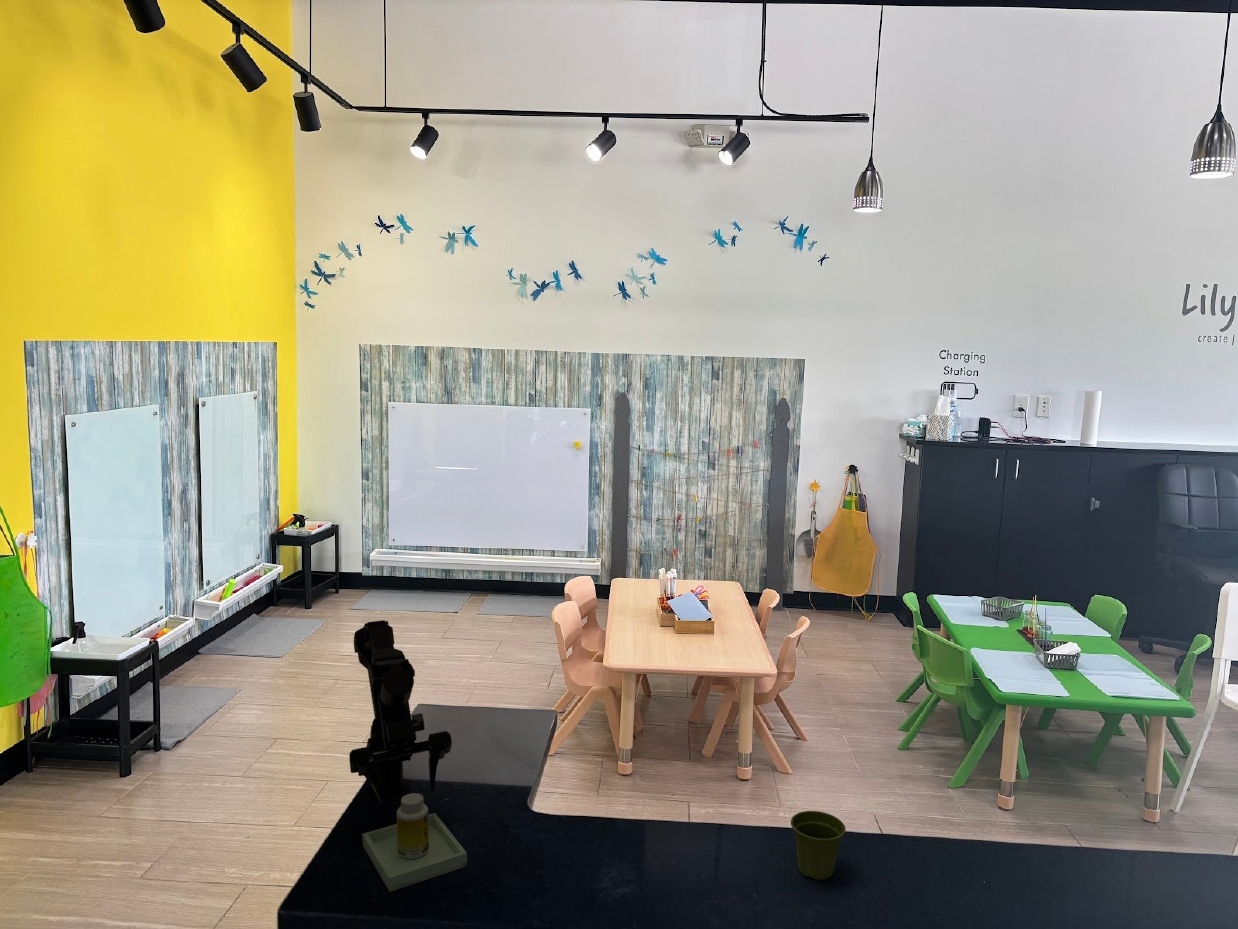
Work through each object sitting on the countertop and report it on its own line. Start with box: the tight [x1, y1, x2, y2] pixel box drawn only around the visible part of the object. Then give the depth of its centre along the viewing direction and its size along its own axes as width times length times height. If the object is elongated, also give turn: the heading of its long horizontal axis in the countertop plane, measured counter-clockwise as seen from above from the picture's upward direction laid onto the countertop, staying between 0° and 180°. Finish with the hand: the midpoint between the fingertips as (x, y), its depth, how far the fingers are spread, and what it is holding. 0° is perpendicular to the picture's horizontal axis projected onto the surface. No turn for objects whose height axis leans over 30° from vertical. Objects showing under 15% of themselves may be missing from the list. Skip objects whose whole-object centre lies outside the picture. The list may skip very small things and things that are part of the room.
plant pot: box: [790, 810, 847, 881], centre depth 151 cm, size 9×9×9 cm
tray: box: [362, 812, 468, 893], centre depth 155 cm, size 16×14×2 cm
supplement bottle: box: [396, 792, 429, 859], centre depth 155 cm, size 6×6×10 cm
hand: (407, 797), depth 159 cm, fingers open, 9 cm apart
